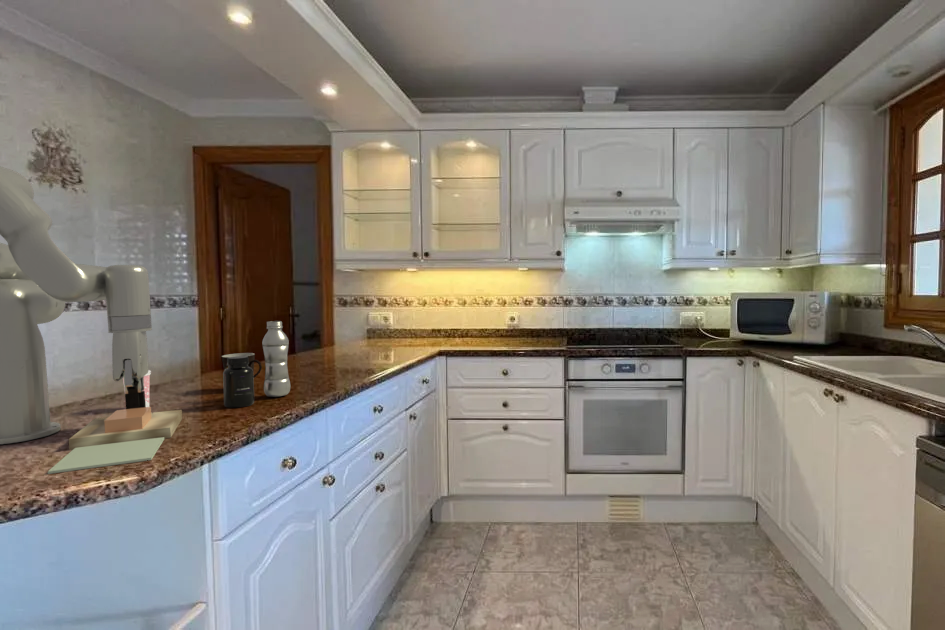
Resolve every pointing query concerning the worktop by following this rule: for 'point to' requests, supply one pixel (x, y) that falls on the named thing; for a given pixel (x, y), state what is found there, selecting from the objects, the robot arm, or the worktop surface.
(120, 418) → the terracotta tile
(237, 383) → the supplement bottle
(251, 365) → the coffee mug
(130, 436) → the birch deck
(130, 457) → the sage mat
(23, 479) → the worktop surface
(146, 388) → the beverage cup
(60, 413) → the worktop surface
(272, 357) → the plastic bottle
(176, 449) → the worktop surface
